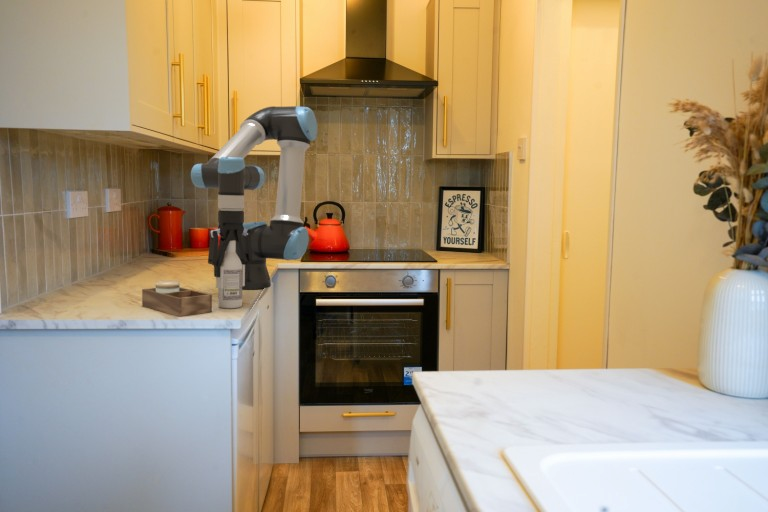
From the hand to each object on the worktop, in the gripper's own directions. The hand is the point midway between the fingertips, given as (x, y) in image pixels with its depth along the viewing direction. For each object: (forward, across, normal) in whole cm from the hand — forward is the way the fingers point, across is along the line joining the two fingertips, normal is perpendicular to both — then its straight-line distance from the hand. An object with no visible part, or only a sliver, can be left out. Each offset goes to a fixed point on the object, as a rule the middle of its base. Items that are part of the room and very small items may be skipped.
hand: (230, 286), depth 197 cm
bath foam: (+6, 0, 0) cm, 6 cm away
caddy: (+6, +14, -6) cm, 17 cm away
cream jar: (+6, +14, -11) cm, 19 cm away
